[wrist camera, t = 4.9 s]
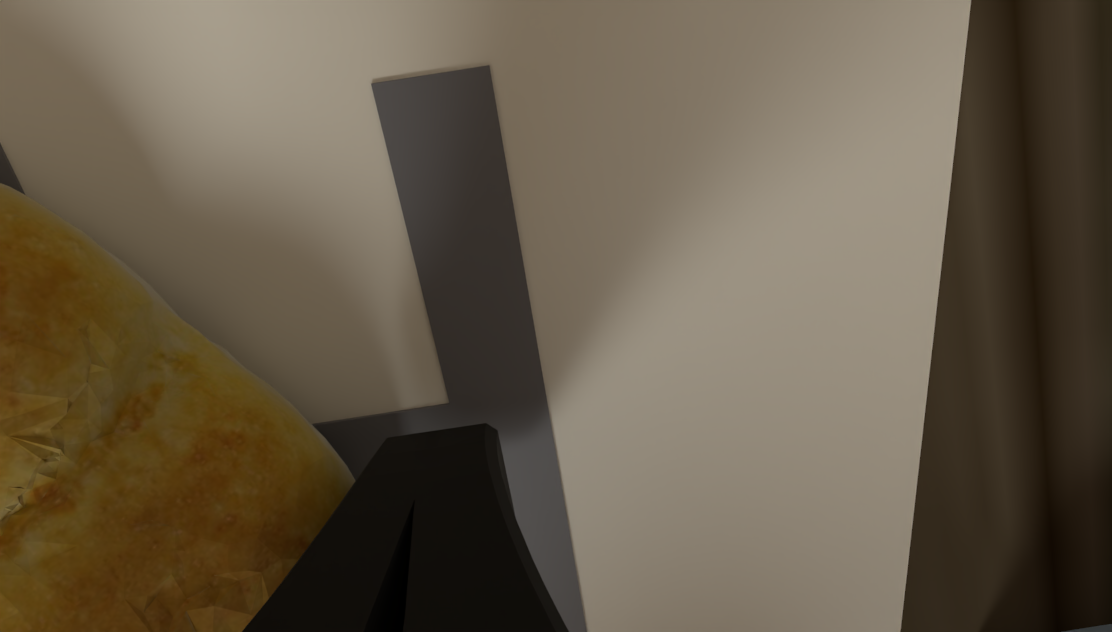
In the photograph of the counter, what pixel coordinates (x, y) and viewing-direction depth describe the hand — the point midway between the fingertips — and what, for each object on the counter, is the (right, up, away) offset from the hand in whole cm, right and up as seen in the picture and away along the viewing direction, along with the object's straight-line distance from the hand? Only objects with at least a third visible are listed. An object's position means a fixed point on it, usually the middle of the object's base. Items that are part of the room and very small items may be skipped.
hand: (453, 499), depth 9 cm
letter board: (-2, 0, +1) cm, 2 cm away
